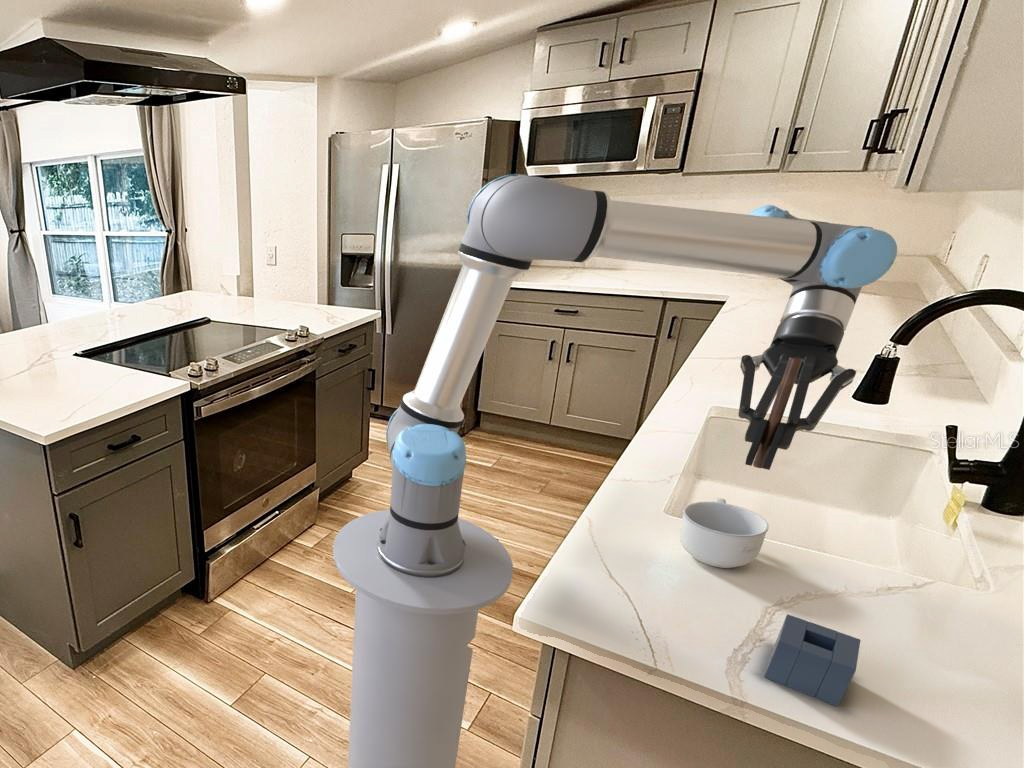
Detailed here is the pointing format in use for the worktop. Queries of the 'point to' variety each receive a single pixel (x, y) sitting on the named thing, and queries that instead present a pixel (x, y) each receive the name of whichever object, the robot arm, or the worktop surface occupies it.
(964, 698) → the worktop surface
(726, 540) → the teacup
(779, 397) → the stick
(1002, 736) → the worktop surface
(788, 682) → the stand
